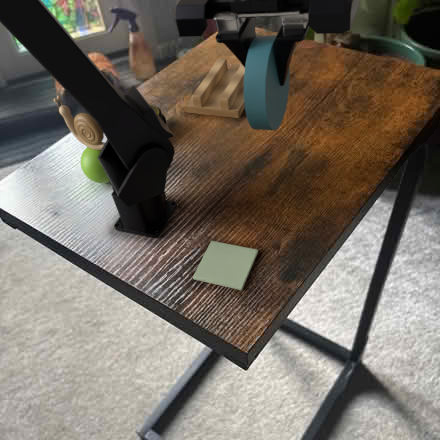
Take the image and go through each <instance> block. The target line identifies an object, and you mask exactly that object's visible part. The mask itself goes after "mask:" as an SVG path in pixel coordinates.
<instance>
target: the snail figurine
mask: <svg viewBox="0 0 440 440" xmlns="http://www.w3.org/2000/svg"><path fill="white" fill-rule="evenodd" d="M61 100H62V96H61V95H60V94H58V95H57V96H56V97H54V98H53V102H54V103H55V104H56V105H57V107H58V112H59V114H60V115H61V116H62V118H63V119H64V122H65V124H66V126H67V127H68V129H69V130H70V133H71V134H72V135H73V136H74V137H75V139H76V140H77V141H78V142H80V143H81V144H82V145H84V146H85V147H86V148H85V149H84V150H83V152H82V153H81V156H80V167H81V170H82V172H83V174H84V175H85V176H86V178H87V179H89V180H90V181H92V182H94V183H96V184H107V183H111V182H110V180H109V178H108V176H107V175H106V173H105V171H104V169H103V167H102V165H101V163H100V162H99V160H98V156H99V154H100V152H101V150H102V148H103V146H104V144H105V143H106V141H105V142H104V141H103V140H104V138H105V137H104V136H105V134H104V133H103V131H102V130H101V128H100V127H99V125H98V124H97V122H96V121H95V120H94V119H93V118H92V117H91V116H90V115H89V114H88V113H87V112H79V113H77V114H76V115H75V116H74V117H73V115H72V114H71V113H72V112H71V110H70V109H71V108H70V107H69V106H67V105H65V104H63V103H62V101H61ZM58 102H60V104H61V105H60V106H59V104H58Z"/></svg>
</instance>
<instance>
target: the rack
mask: <svg viewBox="0 0 440 440" xmlns="http://www.w3.org/2000/svg"><path fill="white" fill-rule="evenodd" d="M244 72H245V68H244V66H243V65H242V63H240V66H239V68H238V69H230V68H228V59H227V58H224V57H223V58H222V57H221V58H220V57H218V59H217V60H215V63H214V64H213V65H212V67H211V68H210V70H209V71H208V73H207V74H206V75H205V77H204V79H203V80H202V81H201V83H200V84H199V85H198V87H197V88H196V89H195V91H194V92H193V94H192V96H191V97H190V99H188V102H187V103H186V104H185V111H186V113H190V114H198V115H205V116H206V115H207V116H216V117H225V118H232V119H233V118H234V119H239V118H240V117H241V115H242V113H243V112H244V111H245V105H244Z"/></svg>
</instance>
